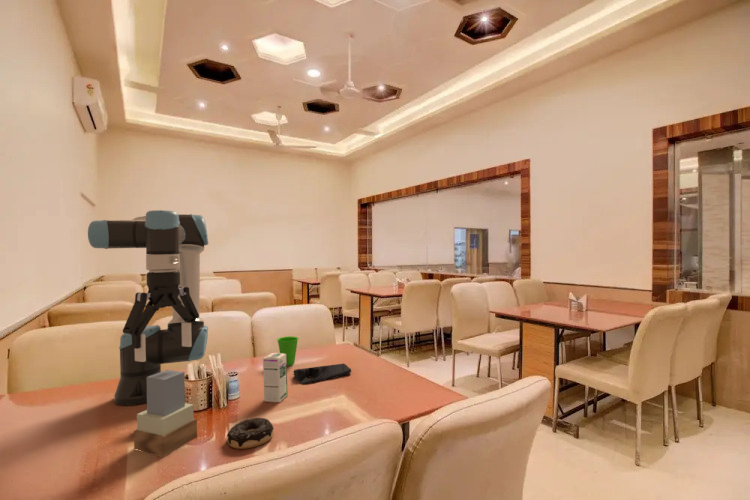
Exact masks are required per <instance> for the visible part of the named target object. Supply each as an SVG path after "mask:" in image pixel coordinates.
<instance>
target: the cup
mask: <svg viewBox="0 0 750 500" xmlns="http://www.w3.org/2000/svg"><path fill="white" fill-rule="evenodd" d="M299 338H300V337H298V336H283V337H279V338H277V340H276V341H277V343H278V348H279V353H285V354H286V363H287V367H290V365H291V366H293V364H294V365H295V362H296V361H295V360H296V354H297V347H298V346H297V345H298V340H299Z"/></svg>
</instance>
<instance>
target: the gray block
mask: <svg viewBox="0 0 750 500" xmlns="http://www.w3.org/2000/svg"><path fill="white" fill-rule="evenodd" d="M185 384H186V383H185V371H179V370H174V369H166V370H161V372H160V373H157V374H154V375H151V376H149V377H147V403H146V410H147V413H150V414H156V415H161V416H166V415H169V414H171V413H173V412H175V411H177V410H179V409H181V408H183V407H185V403H186V397H185V396H186V393H185V392H186V390H185V389H186V388H185V387H186V385H185Z"/></svg>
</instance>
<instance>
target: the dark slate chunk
mask: <svg viewBox="0 0 750 500" xmlns="http://www.w3.org/2000/svg"><path fill="white" fill-rule="evenodd" d="M292 373H293V374H292V375H294V379H295V381H296V382H297V383H300V384H302V385H308V384H310V383H311V384H312V383H317V382H318V383H319V382H322V381H326V380H331V379H335V378H338V377H340V378H341V377H343V376H347V375H349V374H350V373H352V369H351V367H349V366H348V365H347V364H346V363H337V364H330V365H329V364H327V365H321V366H313V367H305V368H297V369H294V370H293V372H292Z"/></svg>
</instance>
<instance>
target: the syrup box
mask: <svg viewBox="0 0 750 500" xmlns="http://www.w3.org/2000/svg"><path fill="white" fill-rule="evenodd" d="M262 369H263V373H262V374H263V401H264V402H266V403H267V402H269V403H281V402H282V401H283V400H284V399H285V398H286V397H288V366H287V363H286V354H285V353H280V352H271V353H270V354H268V355H266V356H265V357H263V358H262Z"/></svg>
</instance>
